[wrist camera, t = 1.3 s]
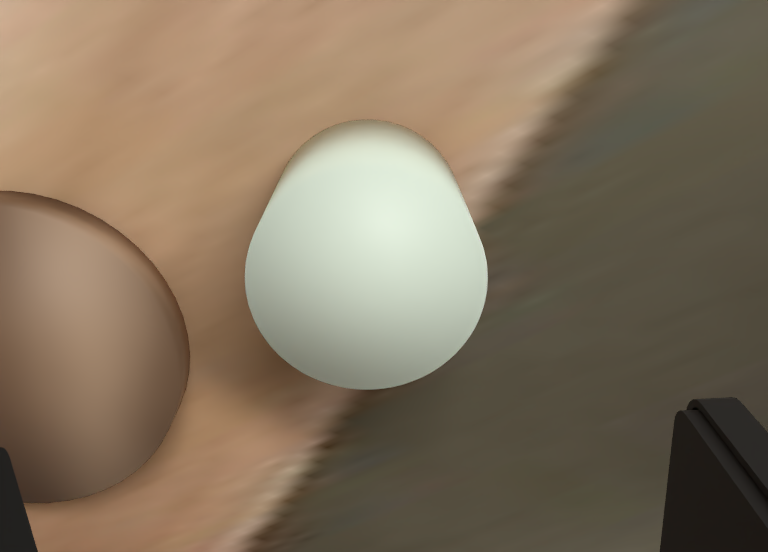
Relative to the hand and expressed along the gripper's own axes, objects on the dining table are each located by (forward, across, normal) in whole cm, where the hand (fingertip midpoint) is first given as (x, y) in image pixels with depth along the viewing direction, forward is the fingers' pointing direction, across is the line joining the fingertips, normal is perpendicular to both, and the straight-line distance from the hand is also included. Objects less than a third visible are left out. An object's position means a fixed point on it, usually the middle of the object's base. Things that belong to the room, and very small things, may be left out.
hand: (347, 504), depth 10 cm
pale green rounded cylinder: (+14, 0, +1) cm, 14 cm away
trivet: (+14, +13, +4) cm, 20 cm away
